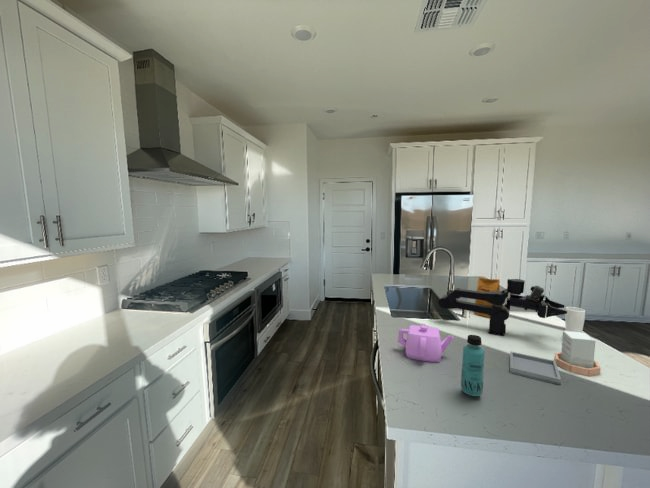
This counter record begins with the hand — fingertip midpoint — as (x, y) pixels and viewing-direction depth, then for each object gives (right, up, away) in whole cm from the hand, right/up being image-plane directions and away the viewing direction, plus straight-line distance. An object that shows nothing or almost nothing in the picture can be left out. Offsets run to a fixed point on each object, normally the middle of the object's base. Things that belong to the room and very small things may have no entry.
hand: (565, 309), depth 124 cm
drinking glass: (+9, -16, +7) cm, 20 cm away
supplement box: (-9, -19, -15) cm, 26 cm away
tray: (-27, -19, -17) cm, 37 cm away
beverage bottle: (-57, -21, -31) cm, 69 cm away
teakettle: (-63, -18, -3) cm, 66 cm away
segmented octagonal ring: (-9, -19, -15) cm, 25 cm away
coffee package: (-12, -13, +40) cm, 44 cm away
